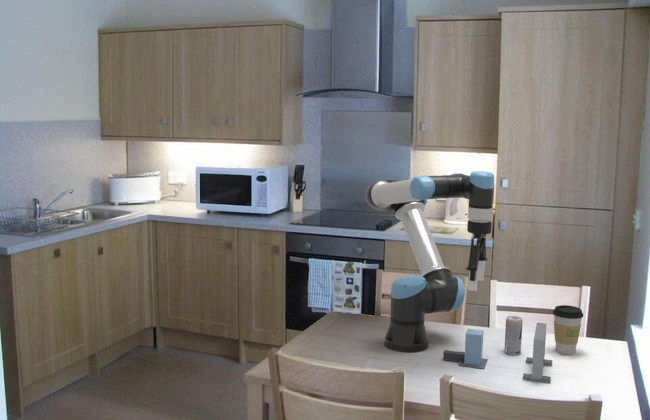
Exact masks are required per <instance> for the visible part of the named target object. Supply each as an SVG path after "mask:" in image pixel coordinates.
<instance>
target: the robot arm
mask: <svg viewBox="0 0 650 420" xmlns="http://www.w3.org/2000/svg"><path fill="white" fill-rule="evenodd" d="M495 186H496V185H495V175H494V173H493V172H490V171H483V170H482V171H481V170H479V171H478V170H476V171H472V172H470V175H467V174H463V173H461V172H460V173H455V172H454V173H451V174H445V175H443V174H442V175H420V176H415V177H413V178H404V179H380V180H376V181H374V182H372V183H371V184H370V185H368V187H367V188H366V189H365V194H364V195H365V200H366V202H367V204H368V206H369V207H370V208H371V209H374V210H375V211H380V212H393V213H394V217H395V219H397V220H399V221H401V224H402V226H403V230H404V231H405V234H406V237H407V240H408V242H409V245H410V248H411V250H412V253H413V255H414V258H415V261H416V264H417V266H418V270H419V272H420V274H421V275H405V276H402V277H398V278H396V279H394V281H393V282H392V283H391V289H390V316H389V317H390V321H389V325H388V328H387V331H386V334H385V336H384V346H385V347H386V348H388V349H391V350H394V351H397V352H404V353H415V352H422V351H425V350H427V349H428V348H429V346H430V345H429V343H430V341H429V340H430V339H429V335H428V332H427V328H426V325H425V318H426V317H425V315H426V314H427V315H428V314H434V313H444V312H446V313H447V312H448V313H449V312H451V311H456V310H458V309H460V307H461V306H463V303H464V300H465V294H466V293H465V291H466V290H465V285H464V281H463V280H462V279H461V278H460V277H459V276H455V275H453V274H452V271H451V269H450V268H449V267H446V266H445V265H444V263H443V260H442V257H441V255H440V253H439V250H438V248H437V245H436V242H435V240H434V238H433V237H434V236H433V235H432V234H433V233H431V229H430V227H429V225H428V222H427V219H426V217H425V214H424V211H425V208H426V205H427V201H428V200H436V199H459V198H461V199H467V200H468V206H467V207H468V208H467V219H468V220H467V225H466V231H467V232H468V233H470V234H473V237H472V238H471V239H470V242H471V243H470V249H469V250H470V251H469V259H468V264H467V266H466V269H465V270H466V271H468V278H467V279H468V281H467V291H472V292H477V291H478V281H482V282H484V280H485V278H484V277H485V267H486V266H485V265H486V261H487V262H488V257H487V241H486V240H487V238H486V237H487V235H489V234H491V233H492V221H491V220H492V219H493V215H494V214H495V211H494V210H493V207H494V206H493V205H494V193H495Z"/></svg>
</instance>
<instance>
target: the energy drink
mask: <svg viewBox="0 0 650 420" xmlns="http://www.w3.org/2000/svg"><path fill="white" fill-rule="evenodd" d="M523 322H524V321H523V318H522V317H520V316H516V315H509V316H506V319H505V331H504V334H505V335H504V353H505V354H507V355H509V356H518V355H521V353H522V338H523V337H522V335H523Z"/></svg>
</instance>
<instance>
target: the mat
mask: <svg viewBox="0 0 650 420" xmlns="http://www.w3.org/2000/svg"><path fill="white" fill-rule="evenodd" d="M488 360H489V359H488V358H483V357H482V362H481V365H480V366H478V365H470V364H464V362H460V361H459V364H458V367H464V368H472V369H479V370H485V368H486V365H487V362H488Z"/></svg>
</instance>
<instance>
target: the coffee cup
mask: <svg viewBox="0 0 650 420" xmlns="http://www.w3.org/2000/svg"><path fill="white" fill-rule="evenodd" d="M552 314H553V319H554V320H553V328H554V329H553V330H554V342H555V352H556V353H558V354H560V355H566V356H569V355H570V356H571V355H572V356H573V355H575V354H576V350H577V349H576V348H577V345H578V342H579V337H580V331H581V326H582V319H583V318H584V313H583V311H582V309H581V308H580V307H578V306H574V305H567V304H566V305H565V304H564V305H557V306H555V307H554V309H553V310H552Z"/></svg>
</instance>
